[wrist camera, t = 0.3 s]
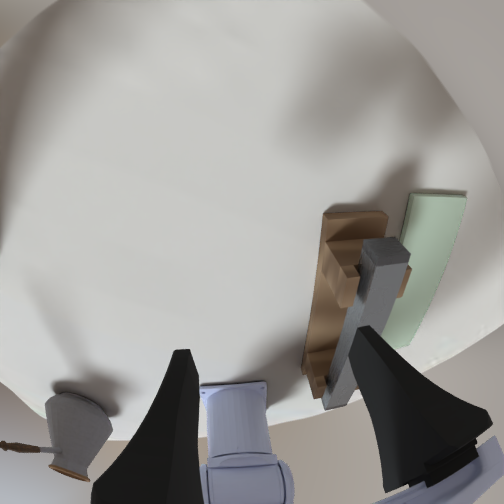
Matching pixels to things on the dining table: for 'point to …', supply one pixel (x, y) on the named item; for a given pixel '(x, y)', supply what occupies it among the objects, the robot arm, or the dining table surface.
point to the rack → (337, 287)
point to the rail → (366, 310)
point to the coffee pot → (71, 434)
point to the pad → (423, 260)
